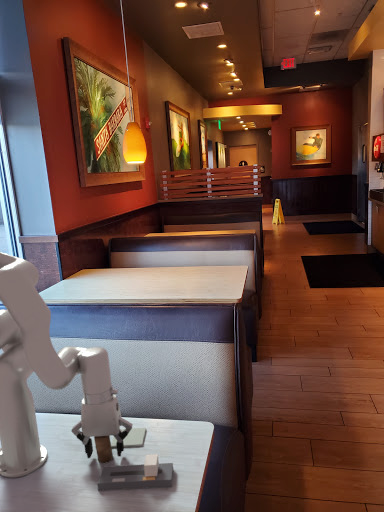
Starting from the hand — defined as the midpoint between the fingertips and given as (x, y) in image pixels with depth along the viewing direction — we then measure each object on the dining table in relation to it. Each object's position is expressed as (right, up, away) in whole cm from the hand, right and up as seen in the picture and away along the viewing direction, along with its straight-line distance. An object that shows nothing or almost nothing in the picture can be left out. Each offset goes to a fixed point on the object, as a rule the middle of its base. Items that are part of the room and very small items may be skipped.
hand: (105, 453), depth 110 cm
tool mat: (+5, 0, +8) cm, 10 cm away
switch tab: (+14, 0, -9) cm, 17 cm away
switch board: (+10, -2, -9) cm, 13 cm away
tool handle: (0, -1, 0) cm, 1 cm away
